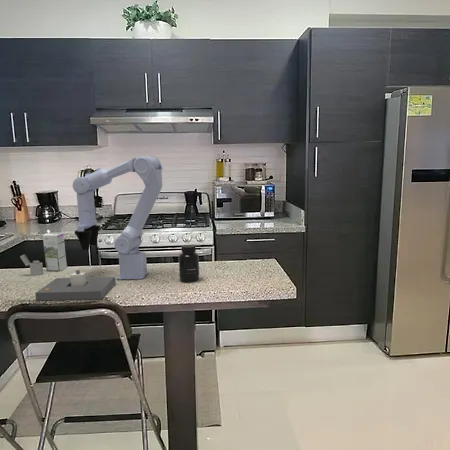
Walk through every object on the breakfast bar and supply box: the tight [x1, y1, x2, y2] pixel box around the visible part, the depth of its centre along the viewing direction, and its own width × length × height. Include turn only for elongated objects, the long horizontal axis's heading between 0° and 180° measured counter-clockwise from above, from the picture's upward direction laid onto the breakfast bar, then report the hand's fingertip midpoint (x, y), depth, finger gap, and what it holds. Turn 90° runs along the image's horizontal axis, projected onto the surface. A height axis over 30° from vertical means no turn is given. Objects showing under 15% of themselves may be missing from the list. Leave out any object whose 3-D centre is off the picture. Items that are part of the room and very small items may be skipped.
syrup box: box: [42, 231, 68, 272], centre depth 153 cm, size 6×6×14 cm
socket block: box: [35, 276, 117, 302], centre depth 126 cm, size 20×15×3 cm
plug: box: [69, 269, 87, 287], centre depth 126 cm, size 4×3×7 cm, turn 90°
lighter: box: [19, 254, 44, 277], centre depth 147 cm, size 7×2×8 cm, turn 101°
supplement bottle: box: [178, 244, 200, 283], centre depth 135 cm, size 7×7×12 cm
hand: (89, 247), depth 144 cm, fingers open, 7 cm apart
